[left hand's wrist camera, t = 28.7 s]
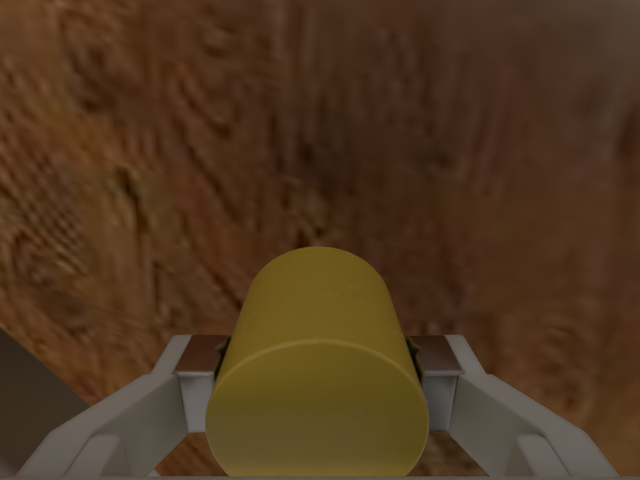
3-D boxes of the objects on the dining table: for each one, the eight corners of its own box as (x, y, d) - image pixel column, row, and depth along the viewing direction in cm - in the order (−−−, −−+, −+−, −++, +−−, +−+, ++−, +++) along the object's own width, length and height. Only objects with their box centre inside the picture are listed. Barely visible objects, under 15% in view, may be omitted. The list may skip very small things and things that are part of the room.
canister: (291, 390, 14) (277, 533, 9) (216, 286, 12) (156, 399, 8) (414, 336, 13) (464, 466, 8) (350, 218, 11) (370, 301, 7)
